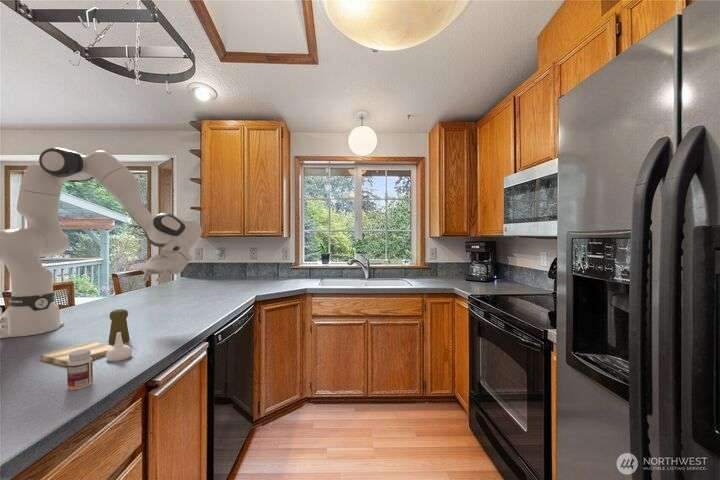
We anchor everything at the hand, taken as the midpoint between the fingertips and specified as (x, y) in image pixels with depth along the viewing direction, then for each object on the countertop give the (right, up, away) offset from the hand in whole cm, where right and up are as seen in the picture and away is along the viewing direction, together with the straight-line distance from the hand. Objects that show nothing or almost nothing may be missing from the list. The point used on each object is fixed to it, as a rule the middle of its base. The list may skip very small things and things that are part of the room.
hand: (150, 281), depth 123 cm
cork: (-5, -20, -10) cm, 22 cm away
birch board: (-7, -20, -23) cm, 31 cm away
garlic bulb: (+6, -20, -25) cm, 32 cm away
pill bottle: (+10, -20, -43) cm, 48 cm away
